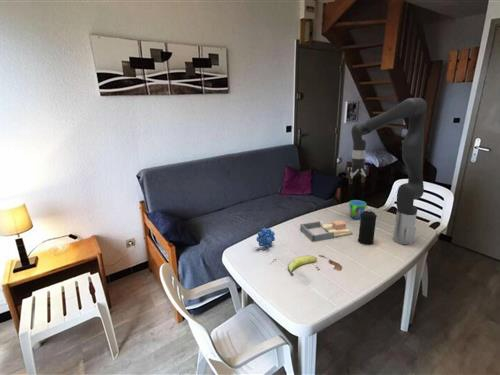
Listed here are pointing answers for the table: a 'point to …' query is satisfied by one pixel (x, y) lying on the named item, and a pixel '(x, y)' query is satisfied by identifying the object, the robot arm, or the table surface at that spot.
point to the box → (314, 238)
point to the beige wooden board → (337, 233)
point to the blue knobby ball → (265, 237)
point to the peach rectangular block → (339, 225)
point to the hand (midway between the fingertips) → (356, 182)
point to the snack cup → (357, 208)
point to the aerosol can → (367, 227)
